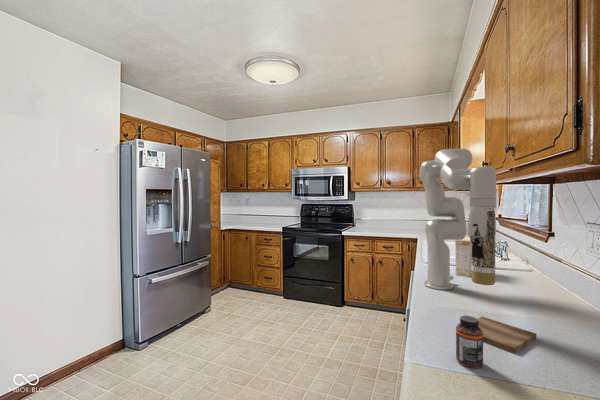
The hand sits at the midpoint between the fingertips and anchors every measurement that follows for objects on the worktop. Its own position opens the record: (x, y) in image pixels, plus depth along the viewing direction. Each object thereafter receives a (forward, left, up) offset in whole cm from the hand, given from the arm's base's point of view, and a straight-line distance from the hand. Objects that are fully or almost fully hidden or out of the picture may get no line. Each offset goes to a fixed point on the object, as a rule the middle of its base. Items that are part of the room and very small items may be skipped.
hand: (483, 256), depth 98 cm
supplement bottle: (+29, +10, -22) cm, 38 cm away
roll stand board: (+7, +7, -22) cm, 24 cm away
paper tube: (0, 0, -9) cm, 9 cm away
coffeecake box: (-59, -36, -22) cm, 73 cm away
